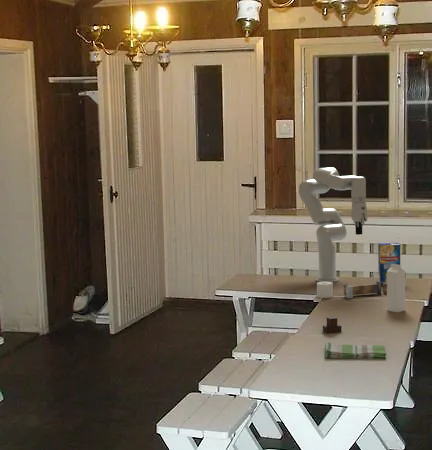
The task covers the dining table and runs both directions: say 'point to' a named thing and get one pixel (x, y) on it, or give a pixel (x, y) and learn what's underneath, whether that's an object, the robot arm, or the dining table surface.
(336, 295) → the dining table surface
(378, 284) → the pivot post
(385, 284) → the fence panel
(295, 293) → the dining table surface
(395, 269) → the milk
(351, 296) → the latch post
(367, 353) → the dish towel
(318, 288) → the toilet paper
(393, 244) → the blue food box
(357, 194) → the robot arm
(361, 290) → the brown bar
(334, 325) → the stack of crates
